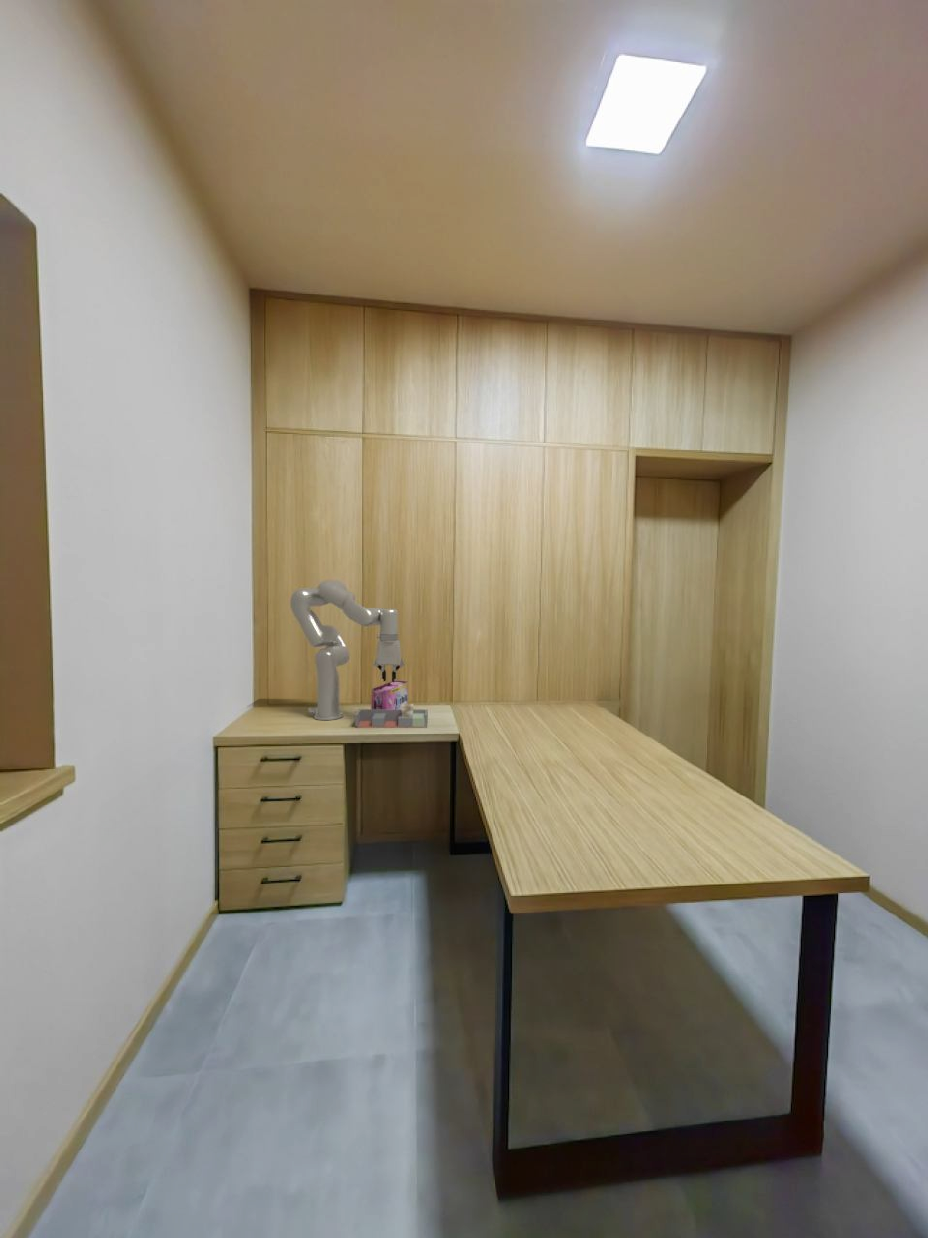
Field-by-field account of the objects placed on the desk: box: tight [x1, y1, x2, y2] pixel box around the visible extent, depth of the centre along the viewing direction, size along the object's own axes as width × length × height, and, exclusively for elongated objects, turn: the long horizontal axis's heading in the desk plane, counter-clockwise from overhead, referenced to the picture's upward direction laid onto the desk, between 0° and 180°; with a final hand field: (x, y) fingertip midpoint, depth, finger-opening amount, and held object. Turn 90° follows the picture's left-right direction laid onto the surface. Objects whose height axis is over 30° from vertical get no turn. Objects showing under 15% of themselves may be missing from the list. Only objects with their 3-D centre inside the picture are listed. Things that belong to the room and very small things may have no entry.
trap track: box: [354, 708, 429, 729], centre depth 210 cm, size 30×9×6 cm, turn 92°
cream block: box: [402, 703, 414, 717], centre depth 210 cm, size 4×4×4 cm
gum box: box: [370, 680, 409, 709], centre depth 227 cm, size 24×8×14 cm, turn 161°
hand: (388, 680), depth 209 cm, fingers open, 3 cm apart
